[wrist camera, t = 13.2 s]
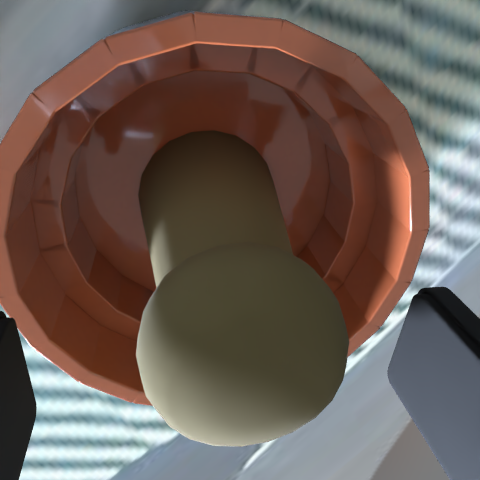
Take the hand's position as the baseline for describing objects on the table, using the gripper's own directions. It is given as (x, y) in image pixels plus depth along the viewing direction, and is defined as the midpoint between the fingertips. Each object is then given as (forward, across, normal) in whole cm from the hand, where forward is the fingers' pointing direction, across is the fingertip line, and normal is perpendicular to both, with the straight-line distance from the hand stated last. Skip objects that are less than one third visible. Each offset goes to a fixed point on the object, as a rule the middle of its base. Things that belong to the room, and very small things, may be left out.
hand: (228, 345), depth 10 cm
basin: (+10, -1, 0) cm, 10 cm away
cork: (+10, -1, 0) cm, 10 cm away
